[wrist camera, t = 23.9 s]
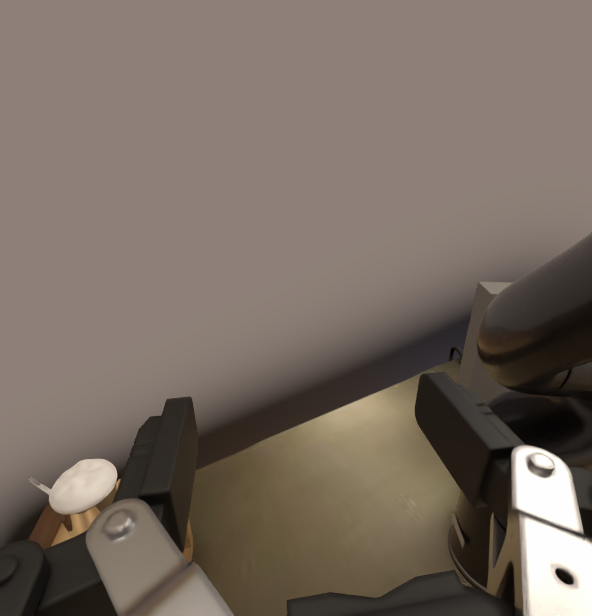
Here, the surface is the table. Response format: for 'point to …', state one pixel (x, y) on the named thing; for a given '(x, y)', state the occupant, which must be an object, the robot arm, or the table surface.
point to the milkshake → (82, 493)
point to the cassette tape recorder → (471, 366)
